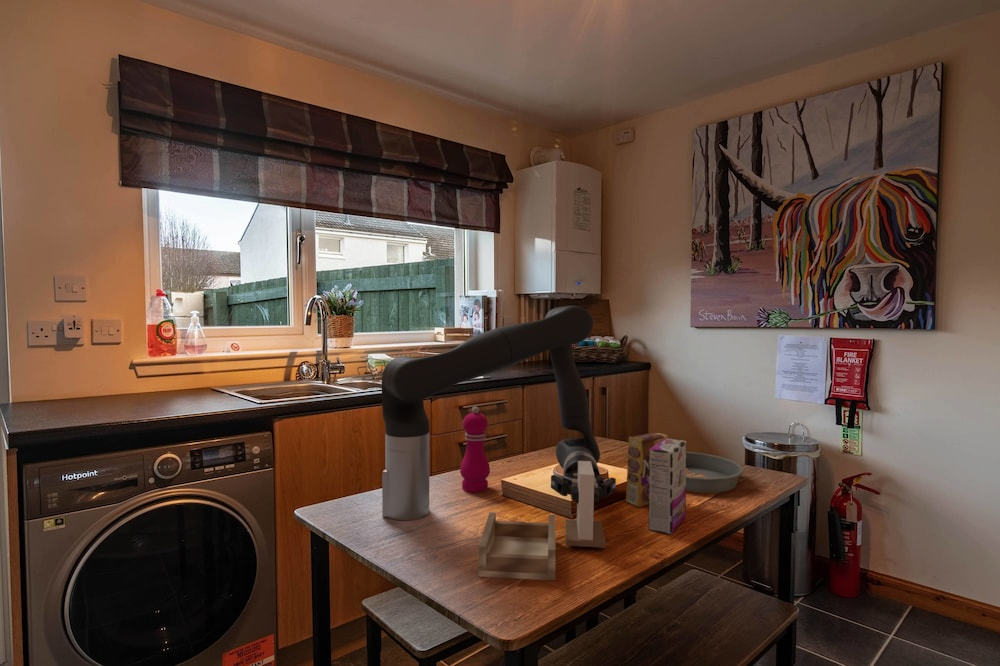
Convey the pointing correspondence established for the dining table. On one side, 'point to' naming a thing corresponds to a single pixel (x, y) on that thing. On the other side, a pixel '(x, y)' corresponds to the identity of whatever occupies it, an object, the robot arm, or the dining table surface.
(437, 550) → the dining table surface
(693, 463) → the cake pan
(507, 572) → the brown wooden tray
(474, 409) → the pepper mill
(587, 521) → the place card sign
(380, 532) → the dining table surface
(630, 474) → the candy box
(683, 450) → the candy bar box
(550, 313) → the robot arm
